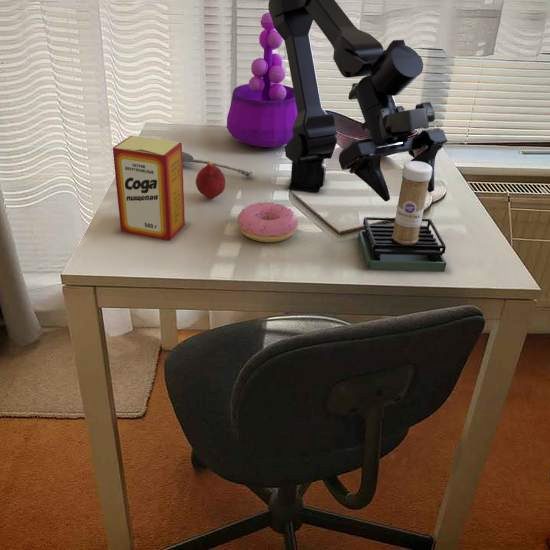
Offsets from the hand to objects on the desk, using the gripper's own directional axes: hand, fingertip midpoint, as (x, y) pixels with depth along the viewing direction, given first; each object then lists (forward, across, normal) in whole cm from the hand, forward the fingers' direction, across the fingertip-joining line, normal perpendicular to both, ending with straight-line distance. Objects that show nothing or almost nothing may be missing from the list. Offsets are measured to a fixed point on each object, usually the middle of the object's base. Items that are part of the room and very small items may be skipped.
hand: (410, 195), depth 100 cm
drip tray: (+8, 0, +8) cm, 11 cm away
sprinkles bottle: (+6, 0, +5) cm, 8 cm away
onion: (-16, -21, +32) cm, 41 cm away
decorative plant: (-33, +4, +50) cm, 60 cm away
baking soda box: (-10, -36, +26) cm, 46 cm away
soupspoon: (-26, -17, +42) cm, 52 cm away
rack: (+8, 0, +8) cm, 11 cm away
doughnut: (-4, -17, +20) cm, 27 cm away
